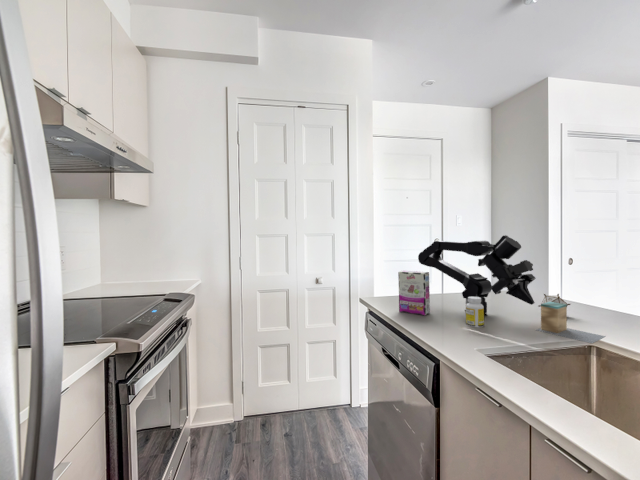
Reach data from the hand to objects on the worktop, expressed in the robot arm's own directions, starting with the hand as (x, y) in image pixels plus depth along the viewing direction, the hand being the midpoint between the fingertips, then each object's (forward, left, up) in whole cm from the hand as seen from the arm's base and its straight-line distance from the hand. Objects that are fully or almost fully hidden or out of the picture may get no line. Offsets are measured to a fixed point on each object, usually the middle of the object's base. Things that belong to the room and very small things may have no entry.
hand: (533, 303), depth 101 cm
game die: (+14, +15, -8) cm, 22 cm away
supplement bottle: (-18, -2, -8) cm, 20 cm away
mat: (+7, -7, -8) cm, 12 cm away
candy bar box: (-36, +14, -8) cm, 40 cm away
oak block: (+4, -4, -7) cm, 9 cm away
